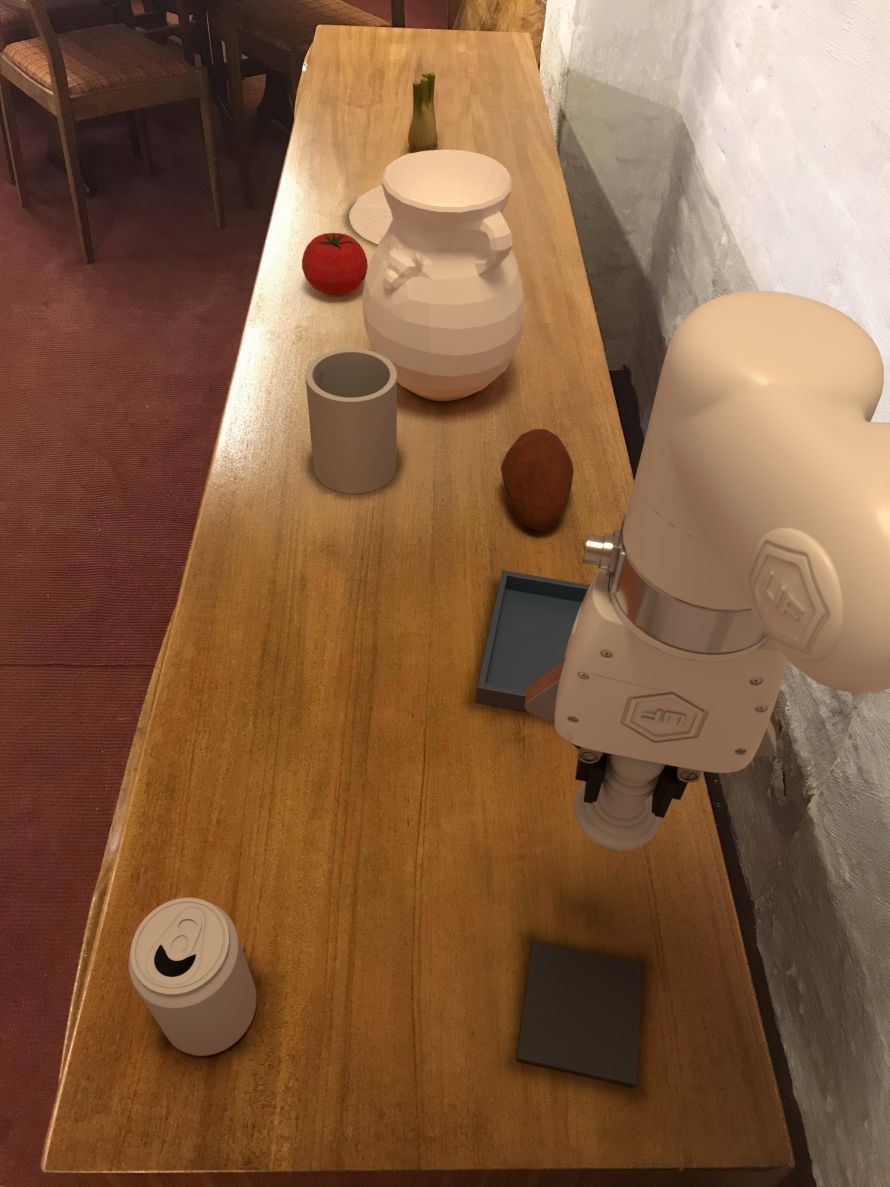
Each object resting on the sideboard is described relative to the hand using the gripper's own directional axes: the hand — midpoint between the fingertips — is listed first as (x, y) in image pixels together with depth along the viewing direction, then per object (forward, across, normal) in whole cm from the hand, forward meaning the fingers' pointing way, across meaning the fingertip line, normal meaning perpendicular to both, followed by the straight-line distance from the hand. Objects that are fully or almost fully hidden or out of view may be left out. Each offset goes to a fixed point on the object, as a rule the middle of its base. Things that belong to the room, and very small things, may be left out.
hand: (625, 787), depth 53 cm
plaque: (+17, -36, +103) cm, 110 cm away
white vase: (+18, -24, +63) cm, 70 cm away
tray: (+18, -6, +24) cm, 31 cm away
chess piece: (+4, 0, 0) cm, 4 cm away
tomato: (+17, -42, +80) cm, 92 cm away
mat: (+19, +1, -7) cm, 20 cm away
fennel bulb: (+16, -41, +127) cm, 134 cm away
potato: (+18, -10, +44) cm, 49 cm away
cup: (+18, -30, +45) cm, 57 cm away
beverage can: (+19, -24, -12) cm, 33 cm away
